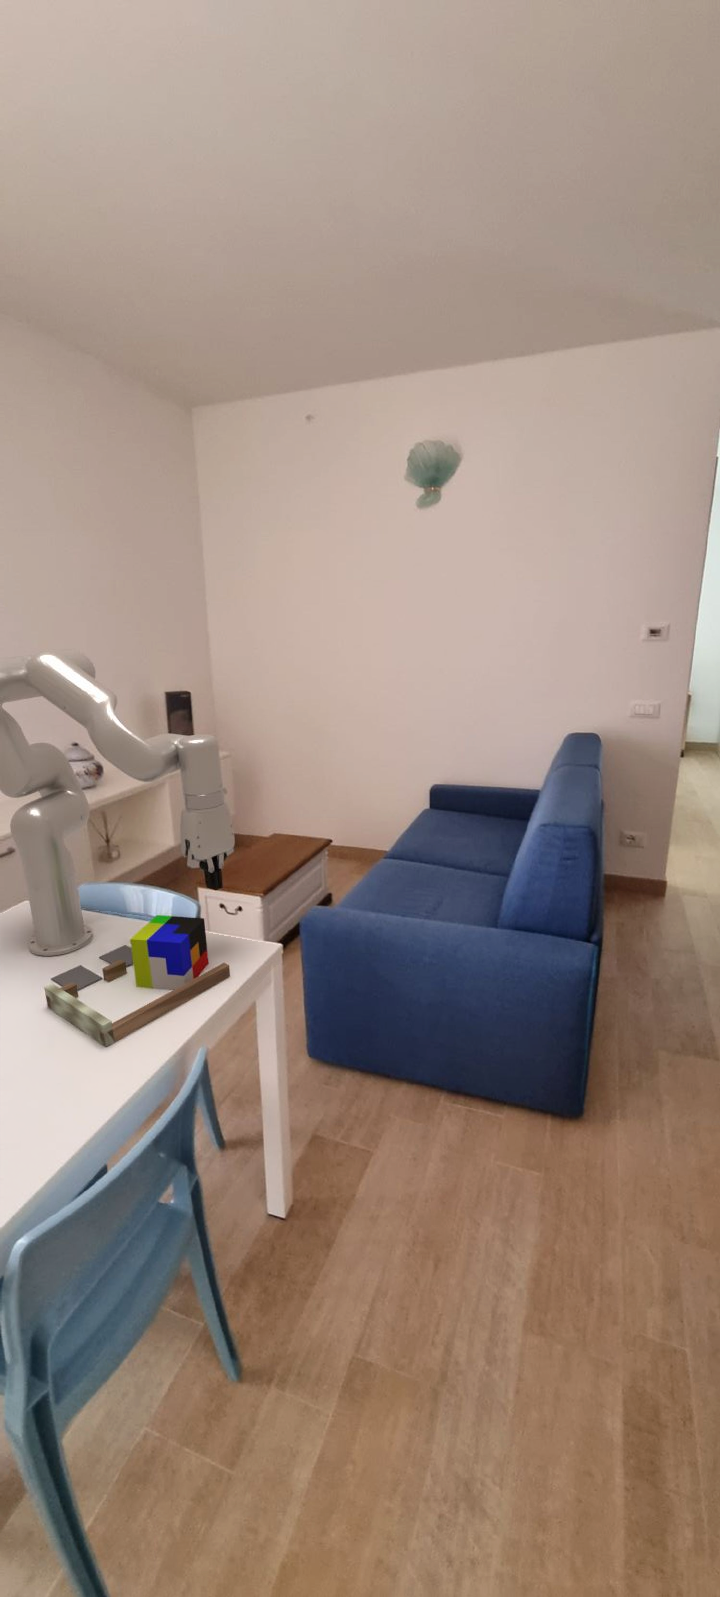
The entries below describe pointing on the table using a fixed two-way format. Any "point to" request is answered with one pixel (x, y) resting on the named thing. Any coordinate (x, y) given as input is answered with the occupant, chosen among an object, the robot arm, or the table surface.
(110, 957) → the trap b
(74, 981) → the grey flat block
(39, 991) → the table surface
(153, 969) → the puzzle toy
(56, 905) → the robot arm
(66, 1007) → the trap box
